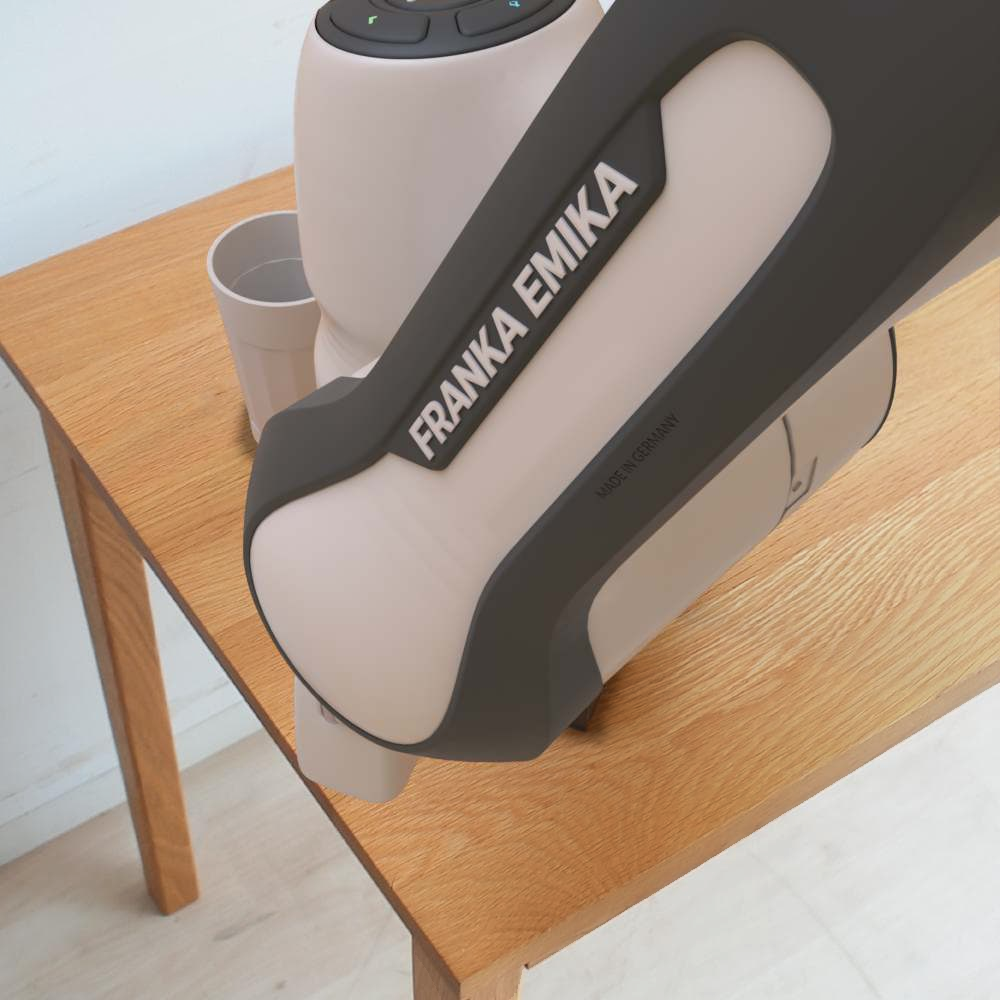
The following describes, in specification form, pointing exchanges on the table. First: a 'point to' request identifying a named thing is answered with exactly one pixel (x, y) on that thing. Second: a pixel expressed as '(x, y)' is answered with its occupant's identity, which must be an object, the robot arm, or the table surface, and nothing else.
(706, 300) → the robot arm
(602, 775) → the table surface
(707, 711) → the table surface
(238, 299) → the cup
